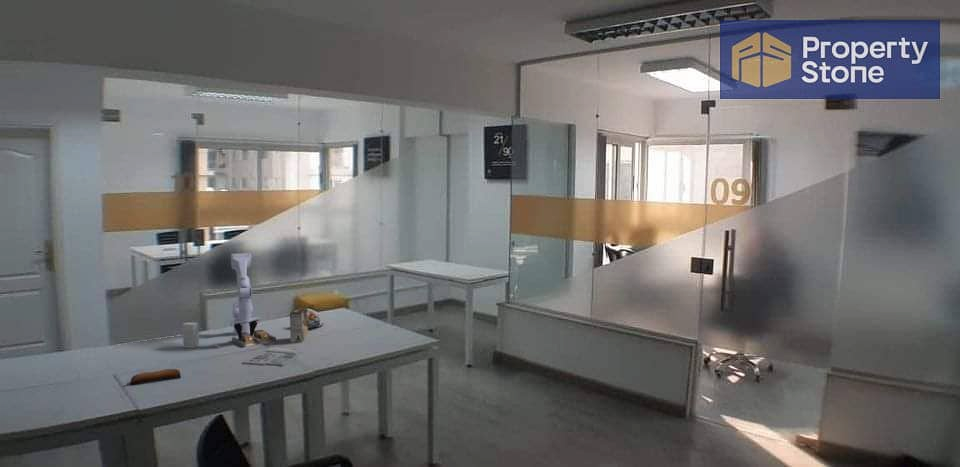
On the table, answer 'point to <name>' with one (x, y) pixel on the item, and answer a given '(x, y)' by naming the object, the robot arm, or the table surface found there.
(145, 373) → the sunglasses case
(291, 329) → the coffee box
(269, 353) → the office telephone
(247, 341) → the copper cell
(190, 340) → the skincare box
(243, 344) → the battery board
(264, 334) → the cell
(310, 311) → the lucky cat figurine
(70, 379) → the table surface
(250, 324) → the robot arm
